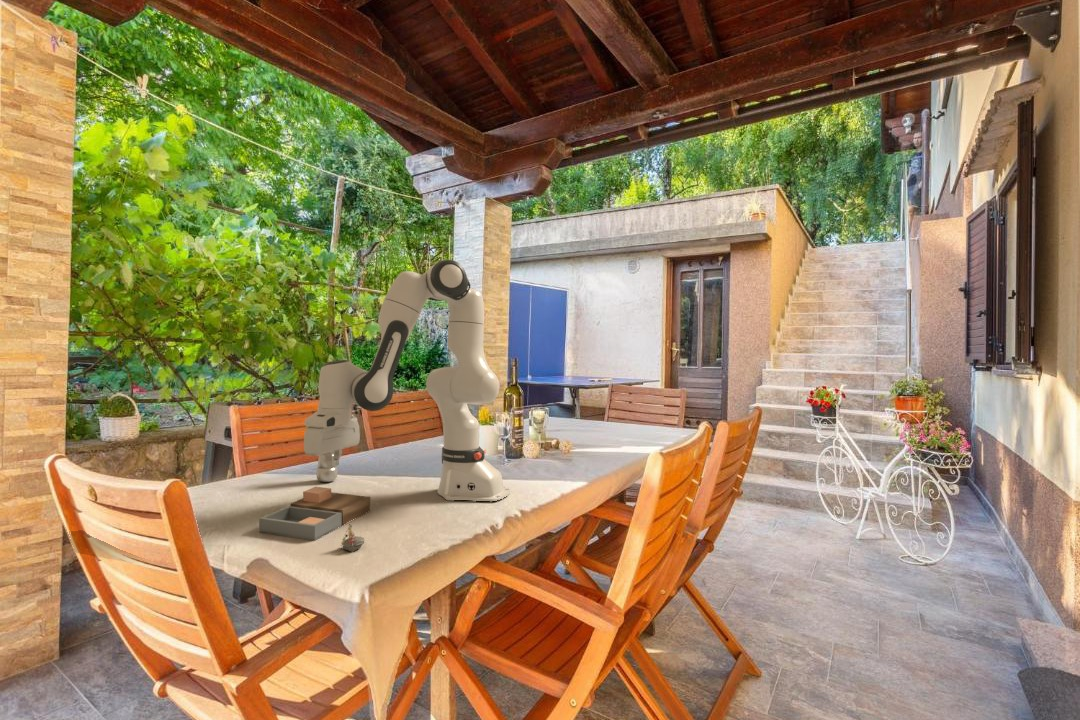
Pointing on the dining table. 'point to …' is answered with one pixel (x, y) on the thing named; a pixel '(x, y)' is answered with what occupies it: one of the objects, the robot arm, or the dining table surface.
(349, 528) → the figurine
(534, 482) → the dining table surface
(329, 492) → the tile
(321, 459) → the plastic bottle
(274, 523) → the box
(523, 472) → the dining table surface
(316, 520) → the tile
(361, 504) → the brown wooden platform
